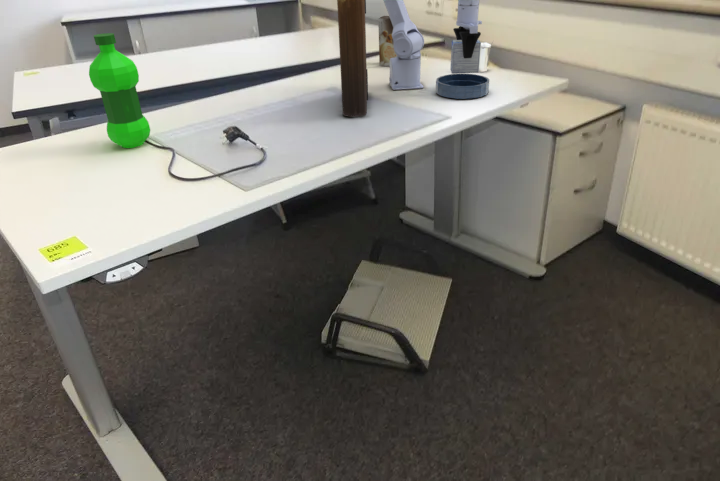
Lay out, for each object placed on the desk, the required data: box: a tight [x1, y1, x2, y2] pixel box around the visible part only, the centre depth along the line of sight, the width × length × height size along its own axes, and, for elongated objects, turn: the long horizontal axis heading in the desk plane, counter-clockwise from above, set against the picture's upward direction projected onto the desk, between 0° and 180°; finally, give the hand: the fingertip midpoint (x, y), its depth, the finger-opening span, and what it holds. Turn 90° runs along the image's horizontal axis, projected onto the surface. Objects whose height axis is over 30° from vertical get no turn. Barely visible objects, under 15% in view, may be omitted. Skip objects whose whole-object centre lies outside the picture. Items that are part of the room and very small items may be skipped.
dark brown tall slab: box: [336, 0, 369, 118], centre depth 143 cm, size 23×7×30 cm, turn 179°
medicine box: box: [450, 39, 481, 74], centre depth 154 cm, size 8×4×9 cm, turn 87°
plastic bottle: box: [88, 32, 151, 149], centre depth 123 cm, size 10×10×25 cm
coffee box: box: [377, 15, 397, 67], centre depth 189 cm, size 9×6×16 cm
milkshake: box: [479, 41, 494, 73], centre depth 178 cm, size 4×5×10 cm
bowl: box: [435, 73, 490, 100], centre depth 157 cm, size 15×15×4 cm
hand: (465, 55), depth 154 cm, fingers closed on medicine box, 5 cm apart
